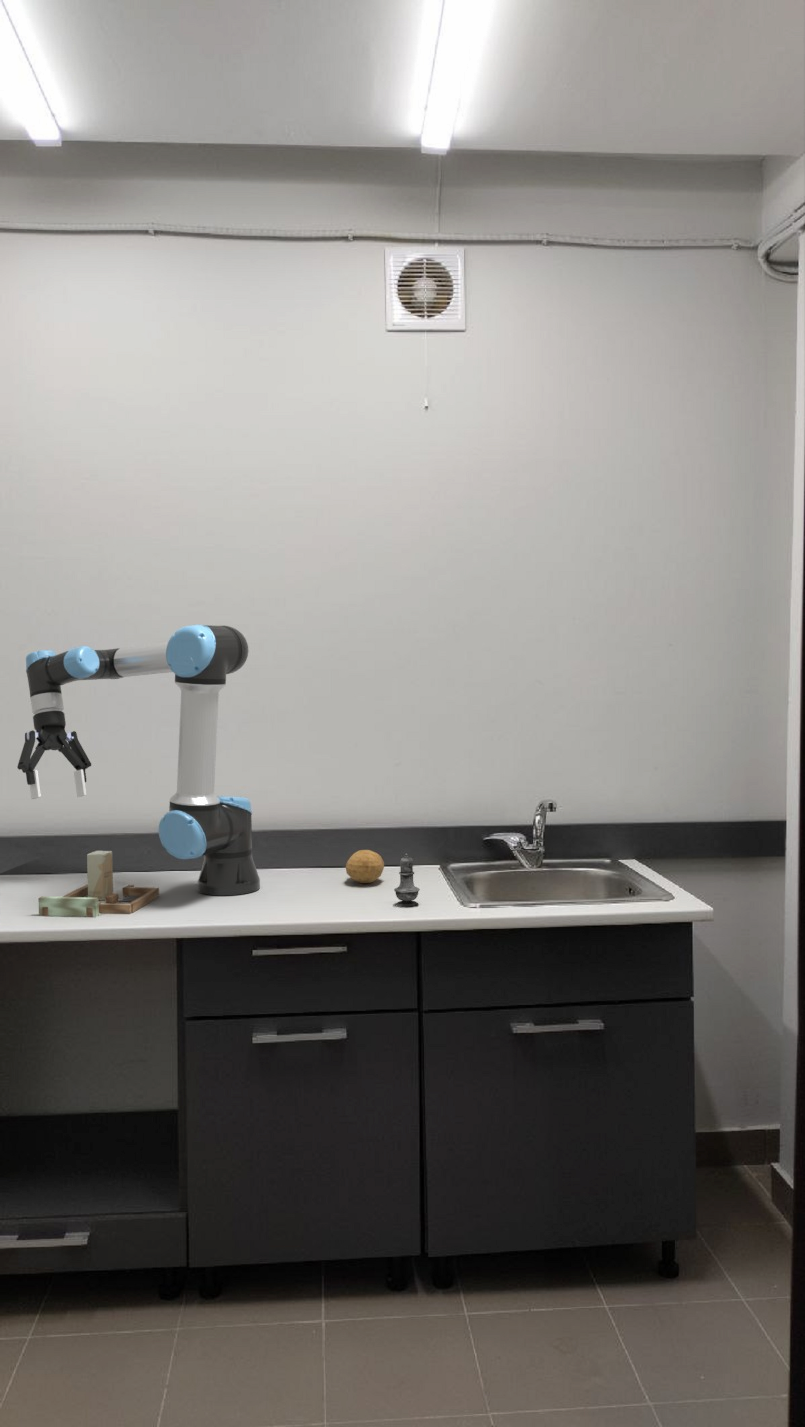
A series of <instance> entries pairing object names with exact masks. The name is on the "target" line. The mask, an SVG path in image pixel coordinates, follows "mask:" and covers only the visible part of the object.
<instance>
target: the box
mask: <svg viewBox="0 0 805 1427" xmlns="http://www.w3.org/2000/svg"><path fill="white" fill-rule="evenodd" d="M86 861H87V862H86V864H87V865H86V866H87V867H86V869H87V872H86V873H87V884H88V895H87V897H89V898H98V901H106V897H107V896H109V895H111V894H112V893H114V877H113V876H114V871H113V870H114V869H113V867H114V866H113V851H112V850H95V851H92V852H90V853H87V855H86Z"/></svg>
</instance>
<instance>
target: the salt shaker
mask: <svg viewBox="0 0 805 1427" xmlns="http://www.w3.org/2000/svg"><path fill="white" fill-rule="evenodd" d="M399 862H400V863H399V864H400V866H399V868H400V871H399V872H398V874H399V878H400V881H399V884H398V886H397V887H396V888H394V889H393V890H394V892H395V896H396V899H398V900H399V901H397V902H396V903H395V906H396V907H398V908H415V907H418V906H419V902H417V901H415V900H416V899H417V898H418V895H419V891H420V890H421V889H420V888H419V887H417V886H415V884H414V882H415V881H414V874H415V871H414V865H413V864H414V860H413V858H411V857H409V856H408V853H407V852H406V853H405V854H404V857H402V858H401V859H400V861H399Z"/></svg>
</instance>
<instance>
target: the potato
mask: <svg viewBox="0 0 805 1427" xmlns="http://www.w3.org/2000/svg"><path fill="white" fill-rule="evenodd" d="M384 868H385V862H384V860H383V858H382V856H381V855H380V854H378V853H377V852H375V851H373V850H370V849H361V850H360V849H359V850H357V851H356V852H354V853H353V854H352V855H351V856H350V857H349V859H347V861H346V864H345V871H346V872H345V873H346V874H347V875H348V876H349V877H350V878H351V879H352V880H353V881H355V882H358V883H360V884H366V883H373V882H375V881H376V880H378V879H379V878H380V877H381V876H382V874H383V871H384Z"/></svg>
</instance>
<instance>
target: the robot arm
mask: <svg viewBox="0 0 805 1427" xmlns="http://www.w3.org/2000/svg"><path fill="white" fill-rule="evenodd" d="M248 644H249V643H248V642H247V639H246V637H245V636H244V635H243V633H241V631H240V630H239V629H237V628H234V627H233V626H230V625H208V624H207V625H205V624H204V625H203V624H193V625H186V626H183V627H181V628H179V629H177V630H176V631H175V632H174V633H173V634H172V635H171V636H170V638H169V640H168V641H167V642H159V643H152V644H151V643H150V644H145V645H143V644H142V645H135V646H134V645H133V646H127V647H119V648H118V647H117V648H111V649H110V648H109V649H92V648H91V647H89V646H87V645H83V646H79V647H73V648H71V649H69V650H66V651H64V652H62V653H58V654H56V652H55V651H53V650H48V649H46V650H42V649H41V650H38V651H33V652H30V653H28V654H27V655H26V656H25V667H26V668H25V669H26V670H25V672H26V677H27V682H28V683H27V684H28V688H29V697H30V705H31V713H32V714H33V715H32V721H33V729H34V730H29V731H27V732H25V733H24V744H23V748H22V750H21V754H20V757H19V760H18V763H17V769H18V770H19V771H20V770H21V771H22V773H24V774H25V776H26V778H25V779H26V783H27V785H28V786H29V789H30V790H29V791H30V798H31V800H36V799H38V798H41V797H42V794H41V787H40V778H39V771H38V770H37V769H35V768H36V766H37V765H38V764H39V762H40V761H41V759H42V757H43V755H44V753H45V751H50V750H51V751H58V752H59V753H61V754H62V755H63V756H64V758H66V759H67V761H68V762H69V763H70V765H71V766H73V768H74V769H75V771H73V774H74V775H73V777H74V782H75V790H76V797H77V798H80V797H84V796H87V789H86V788H87V787H86V783H87V773H86V769H88V768H90V767H92V762H91V761H90V759H89V757H88V755H87V753H86V752H85V750H84V748H83V746H82V744H81V743H80V741H79V739H78V733H77V731H75V730H74V731H71V732H66V716H65V713H64V711H63V710H64V709H65V708H64V701H63V696H62V686H63V685H66V684H70V683H73V682H77V681H90V680H91V681H93V680H119V679H122V678H130V677H138V676H148V675H158V674H159V675H160V674H167V673H173V674H174V683H175V684H176V686H177V687H178V688H179V689H180V705H179V708H180V709H179V710H180V711H179V734H178V755H177V778H176V780H177V781H176V783H177V784H176V792H175V793H174V794H173V795H172V796H170V798H169V805H168V806H169V807H168V808H169V809H168V812H166V813H164V815H163V817H161V819H160V821H159V822H158V823H159V824H158V829H157V830H158V831H157V832H158V837H159V840H160V843H161V845H162V847H163V848H165V849H166V851H167V853H168V854H169V855H171V856H172V857H174V858H176V859H179V860H189V859H197V858H201V857H202V856H203V857H204V858H203V862H202V866H201V869H200V872H199V876H198V880H197V891H198V892H199V893H200V894H204V895H210V896H236V895H244V894H250V893H253V892H257V891H258V890H259V889H261V879H260V876H259V872H258V871H257V868H256V864H255V861H254V859H253V834H252V827H253V826H252V824H253V823H252V822H253V821H252V815H253V812H252V805H251V804H252V803H251V801H250V799H249V798H247V797H242V796H226V795H223V796H222V795H221V796H220V795H216V793H215V779H216V756H217V739H218V738H217V737H218V736H217V734H218V715H219V714H218V712H219V696H220V694H219V693H220V692H221V690H222V689H224V687H225V686H226V683H227V682H226V681H227V675H230V674H234V673H235V672H237V671H239V670H240V669H241V668H242V667H243V666H244V665H245V664H246V662H247V661H248V657H249V645H248ZM36 741H37V742H38V744H37V745H36V746H35V743H36ZM34 747H35V750H34ZM33 750H34V751H33Z"/></svg>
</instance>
